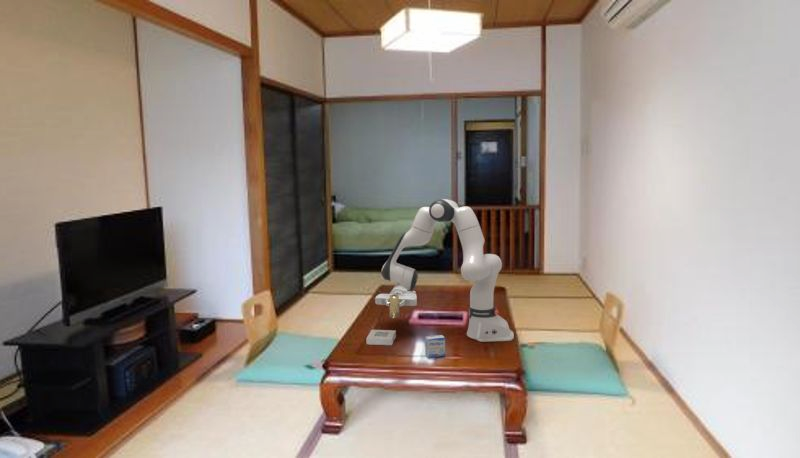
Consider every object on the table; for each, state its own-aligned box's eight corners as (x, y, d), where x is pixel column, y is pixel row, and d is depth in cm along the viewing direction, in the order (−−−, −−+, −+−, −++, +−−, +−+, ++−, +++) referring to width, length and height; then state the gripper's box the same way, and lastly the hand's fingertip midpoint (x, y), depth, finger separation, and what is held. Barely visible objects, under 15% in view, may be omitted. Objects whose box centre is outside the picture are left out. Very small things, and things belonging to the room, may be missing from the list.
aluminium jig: (395, 336, 267) (395, 330, 266) (391, 345, 255) (391, 339, 254) (371, 335, 268) (371, 329, 268) (366, 344, 257) (366, 338, 256)
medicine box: (428, 358, 239) (427, 339, 237) (425, 354, 243) (424, 336, 242) (445, 356, 241) (445, 337, 239) (441, 352, 245) (441, 334, 244)
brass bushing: (399, 315, 263) (399, 294, 261) (398, 318, 258) (398, 297, 257) (390, 314, 263) (390, 294, 262) (389, 317, 259) (388, 297, 257)
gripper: (377, 289, 274) (372, 297, 260) (418, 290, 270) (414, 299, 257) (378, 301, 275) (372, 310, 261) (418, 303, 271) (415, 312, 258)
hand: (393, 304), depth 259 cm, fingers closed on brass bushing, 4 cm apart
